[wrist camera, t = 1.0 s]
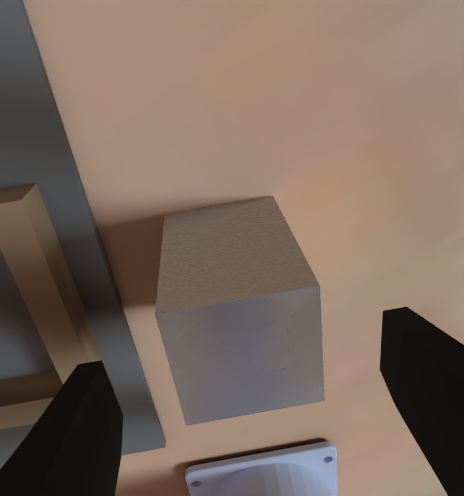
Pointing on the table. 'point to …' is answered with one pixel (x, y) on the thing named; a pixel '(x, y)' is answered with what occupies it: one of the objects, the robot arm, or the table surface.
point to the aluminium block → (238, 311)
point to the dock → (53, 261)
